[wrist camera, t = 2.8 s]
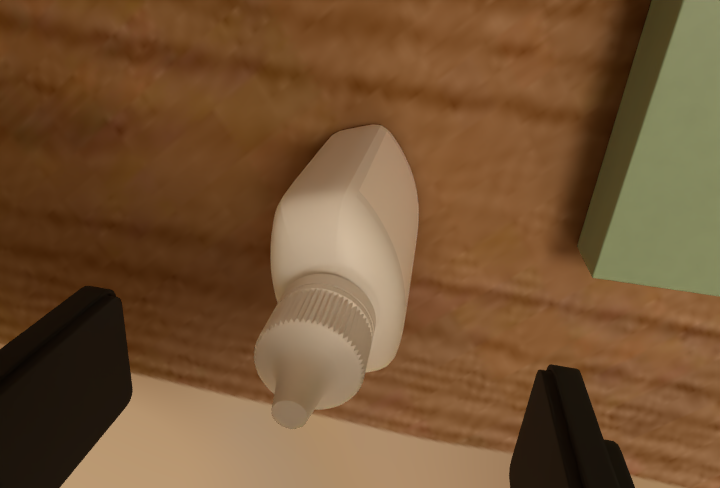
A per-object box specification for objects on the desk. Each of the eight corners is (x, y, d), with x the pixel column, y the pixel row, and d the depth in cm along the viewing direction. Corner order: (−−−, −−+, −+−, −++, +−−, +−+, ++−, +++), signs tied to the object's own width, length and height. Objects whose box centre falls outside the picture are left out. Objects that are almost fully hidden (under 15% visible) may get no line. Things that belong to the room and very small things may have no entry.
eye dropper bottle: (452, 144, 19) (453, 336, 8) (404, 270, 22) (359, 540, 11) (339, 107, 19) (199, 252, 9) (304, 237, 22) (163, 473, 11)
